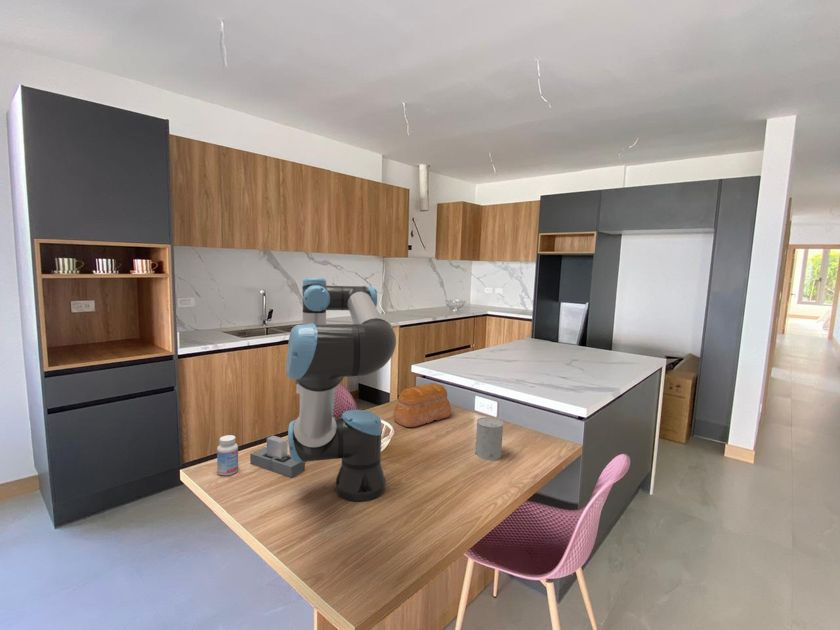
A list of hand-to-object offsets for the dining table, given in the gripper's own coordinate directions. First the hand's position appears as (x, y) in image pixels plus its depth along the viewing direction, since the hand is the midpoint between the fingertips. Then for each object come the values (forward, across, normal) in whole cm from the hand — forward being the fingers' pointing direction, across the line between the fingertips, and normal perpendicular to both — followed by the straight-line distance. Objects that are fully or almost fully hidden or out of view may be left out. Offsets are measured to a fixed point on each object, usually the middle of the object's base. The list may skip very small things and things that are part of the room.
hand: (313, 388), depth 141 cm
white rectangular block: (+25, +8, -9) cm, 28 cm away
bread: (+25, -56, +17) cm, 64 cm away
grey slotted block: (+26, +8, -9) cm, 28 cm away
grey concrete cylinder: (+26, -34, +52) cm, 67 cm away
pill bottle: (+26, +17, -20) cm, 37 cm away
